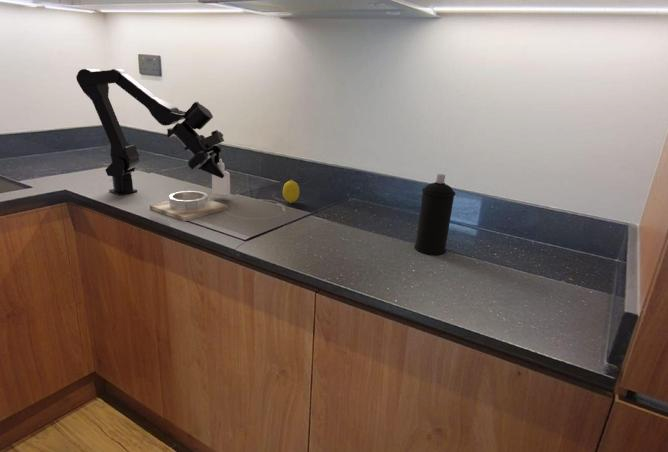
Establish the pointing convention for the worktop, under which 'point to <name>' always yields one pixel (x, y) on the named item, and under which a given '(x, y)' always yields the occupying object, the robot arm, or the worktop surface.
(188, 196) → the collar
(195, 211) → the base plate
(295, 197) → the lemon
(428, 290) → the worktop surface
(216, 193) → the eye dropper bottle
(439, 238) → the aerosol can
